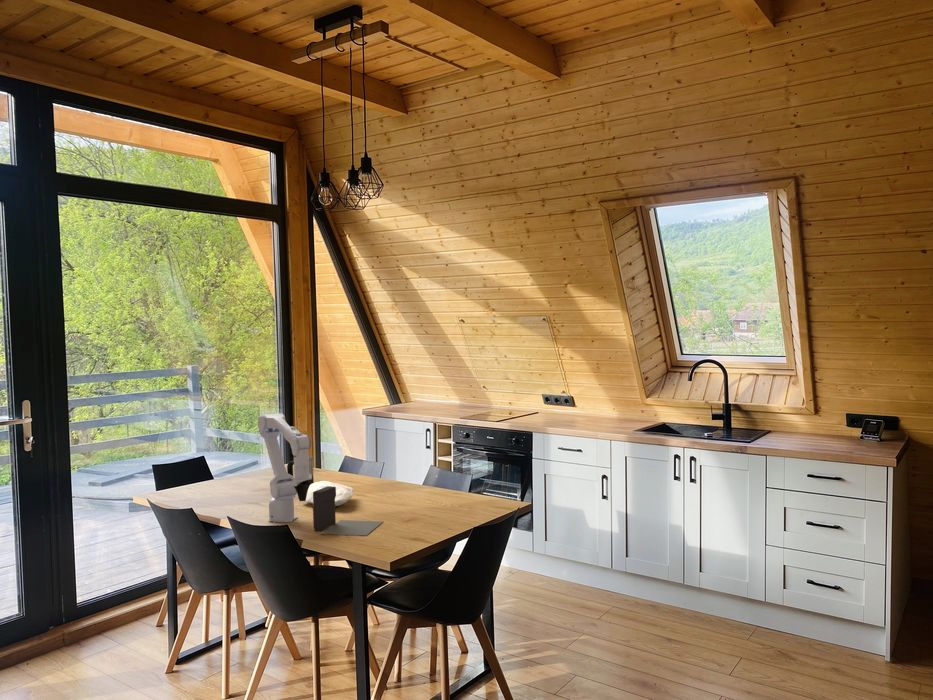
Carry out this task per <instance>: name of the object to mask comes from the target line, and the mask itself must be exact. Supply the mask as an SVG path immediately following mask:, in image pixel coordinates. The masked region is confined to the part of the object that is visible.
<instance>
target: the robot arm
mask: <svg viewBox="0 0 933 700" xmlns="http://www.w3.org/2000/svg"><path fill="white" fill-rule="evenodd" d="M257 428H258V431H259V434H260V437H261V438H263V439H264V443H265V447H266V451H267V455H268V458H269V460H270V461H269V462H270V465H271V469H272V471H273V477H272V478H271V480H270V481H269V487H270V488H269V489H270V490H269V492H270V495H271V497H272V498H271V499H270V500H269V503H268V517H269V518H268V519H269V520H268V522H270V521H273V523H275V522H276V523H278V522H279V523H291V522H292V521H294V520H296V519H298V518H299V516H297V515H295V501H294V498H296V495H297V498H298V500H299V502H304V501H306V497H307V492H308V489H309V486H310V484H311V482H309V481H307V480H311V479H312V474H309V457H310V456H309V455H310V454H309V453H310V452H309V450H310V449H311V447H312V439H311V437H310V436H309V434H302V433H301V432H300V431H299V430H298V429H297V428H296V427H295V426H292V425H291V426H290V425H289V424H288V423H287V421H286V416H285V415H284V413H281V412H278V413H273V414H272V413H270V414H259V416H258V418H257ZM280 435H283V438H284V439H285V440H286V441H287V442H288V443H289V444H290V448H291V453H292V455H293V460H294V465H293V476H292V475H290V474H288V473H287V467H286V465H285V461H284V458H283V453H282V450H281V447H280V443H279V440H278V437H279V436H280Z"/></svg>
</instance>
